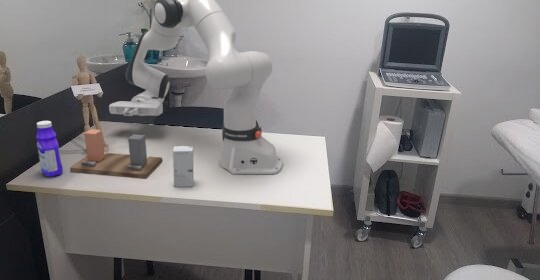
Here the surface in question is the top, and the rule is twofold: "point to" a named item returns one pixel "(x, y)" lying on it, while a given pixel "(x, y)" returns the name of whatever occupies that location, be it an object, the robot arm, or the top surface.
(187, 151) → the skincare box
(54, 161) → the bottle
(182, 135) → the top surface
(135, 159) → the grey tall block
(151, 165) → the wooden board
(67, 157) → the top surface
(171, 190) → the top surface
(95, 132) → the plug terracotta
